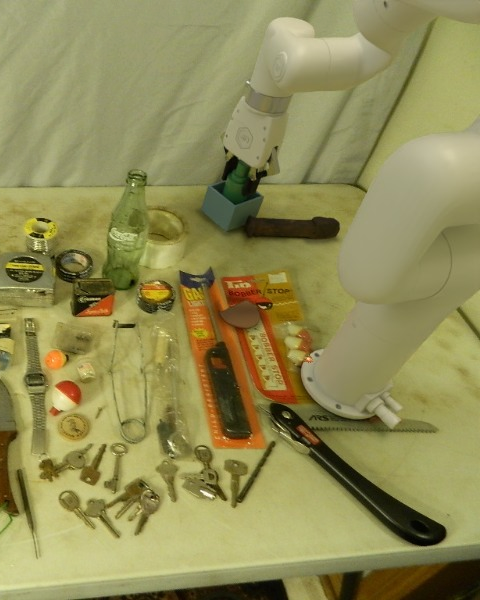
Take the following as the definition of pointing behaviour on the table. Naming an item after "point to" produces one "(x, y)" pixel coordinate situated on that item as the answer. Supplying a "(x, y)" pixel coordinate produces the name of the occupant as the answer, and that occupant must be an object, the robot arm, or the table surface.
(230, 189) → the bottle
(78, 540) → the table surface
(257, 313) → the coaster
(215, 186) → the blue open box
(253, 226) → the hand tool
